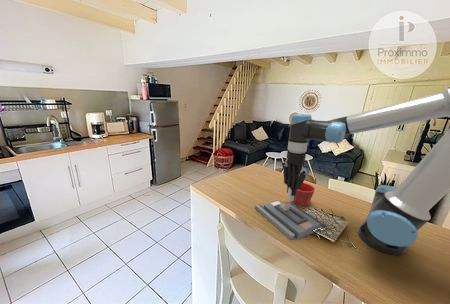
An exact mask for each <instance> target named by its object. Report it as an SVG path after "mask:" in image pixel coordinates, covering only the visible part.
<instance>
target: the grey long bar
mask: <svg viewBox="0 0 450 304" xmlns="http://www.w3.org/2000/svg"><path fill="white" fill-rule="evenodd" d="M254 208H255V210H256V211H257V212H259V213H260V214H261V215H262V216H263V217H264V218H265V219H266V220H268V221H269V222H270V224H272V225H274V226H275V228H277V229H278V230H279V231H280V232H281V233H282V234H283V235H285V236H286V237H287V238H288V239H289V240H294V239H297V238H296V236H297V235H296V234H295V233H294V232H293V231H291V230H290V229H289V228H288V227H286V226H285V225H284V224H283V223H282V222H280V221H279V220H278V219H277V218H275V217H274V216H273V215H272V214H271V213H269V212H268V211H267V210H266V209H264V206H262V205H261V204H255V205H254Z"/></svg>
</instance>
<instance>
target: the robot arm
mask: <svg viewBox="0 0 450 304" xmlns="http://www.w3.org/2000/svg"><path fill="white" fill-rule="evenodd" d="M440 118H450V86H448V87H445V88H444V89H443V90H442V91H441V92H439V93H433V94H430V95H426V96H422V97H418V98H415V99H411V100H406V101H402V102H398V103H394V104H390V105H386V106H382V107H378V108H377V107H376V108H373V109H369V110H366V111H362V112H358V113H355V114H351V115H350V114H349V115H347V116H342V117H338V118H333V119H331V120H330V119H329V120H317V119H316V120H315V119H312V114H309V113H308V114H307V113H294V114H292V115H291V119H290V124H289V133H288V136H289V137H288V143H287V144H288V145H287V152H286V159H287V160H286V161H285V162H282V163H281V166H282V170H283V171H282V172H283V183H284V185H286V186H287V188H286V195H287V197H286V199H287V201H288V202H291V203H292V202H294V195H296V190H297V189H301V186H302V184H303V183H305V179H306V176H307V175H308V174H309V173H310V171H309V170H307V169H306V168H305V161H306V159H307V158H306V157H307V156H306V155H307V153H306V152H307V149H308V143H309V140H315V141H320V142H321V141H322V142H326V143H330V144H331V143H332V144H333V143H334V144H340V143H342V142H343V141H344V139H345V136H350V135H352V134H353V135H354V134H359V133H364V132H365V133H366V132H370V131H374V130H380V129H386V128H390V127H392V128H393V127H397V126H402V125H407V124H412V123H413V124H414V123H418V122H419V123H420V122H424V121H430V120H435V119H440ZM374 191H375V193H374V196H373V200H372V203H371V205H370V208H369V211H368V215H367V216H366V218H365V220H364V221H363V222H362V223H361V224H360V225H359V227H358V231H357V233H358V236H359V237H360V239H361V240H362V241H363V242H364V243H365V244H367V245H368V246H370V247H371V248H373V249H374V250H377V251H378V252H381V253H385V254H388V255H391V256H402V255H405V253H406V252H407V250H408V247H409V246H411V245H413V244H414V243H415V242H416V240H417V238H418V236H419V232H418V231H419V230H420V229H422V228H423V226H425V225H426V224H427V223H428V222H429V221H430V220H431V218H432V217H431V213H430V212H429V211H430V210H431V209H432V208H433V207H434V206H435V205H436V204H437V203H438V202H439V201H441V199H442V198H443V197H444V196H446V194H448V193H449V192H450V127H449V128H448V130H447V131H446V132H445V133H444V134H443V135H442V137H440V139H438V141H437V142H436V143H435V144H434V145H433V147H432V148H431V149H430V150H429V151H428V152H427V154H425V156H424V157H423V158H422V159H421V161H419V163H418V164H417V165H416V166H415V167H414V168H413V169H412V170H411V172H410V173H409V174H408V175H407V176H406V177H405V178H404V180H403V181H402V182H401V183H400V184H399V186H398V187H396V186H392V185H386V184H380V185H378V186H377V187H376V189H375V190H374Z"/></svg>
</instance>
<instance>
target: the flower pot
mask: <svg viewBox="0 0 450 304" xmlns="http://www.w3.org/2000/svg"><path fill="white" fill-rule="evenodd" d="M314 192H315V187H314V186H313V185H311V184H309V183H306V182H303V184H302V186H301V189H297V190H296V195H294V201H293V204H294V205H296V206H300V207H307V206H309V204H310V202H311V200H312V198H313V195H314Z"/></svg>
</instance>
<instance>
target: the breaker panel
mask: <svg viewBox="0 0 450 304" xmlns="http://www.w3.org/2000/svg"><path fill="white" fill-rule="evenodd" d="M280 200H281V199H279V200H276V201H273V202H268V203H266V204H263V208H264V209H266V210H267V211H268V212H269V213H271V214H272V215H273V216H274V217H275V218H277V219H278V220H279V221H280V222H282V223H283V224H284V225H285V226H286V227H288V228H289V229H290V230H291V231H293V232H294V233H295V234H296V235H297V236H296V238H295V239H297V240H300V239H302V238H304V237H307V236H309V235H311V234H313V233H315V232H313V230H315V229H318V228H320V225H321V224H320V223H318V222H317V221H315V220H314V219H312V218H311V217H309V216H308V215H306V214H305V213H303V212H302V211H300V210H299V209H297V208H296V207H294V206H293V205H291V204H290V207H289V210H287V211H284V210H282V209H281V208H280V207H279V206H280Z"/></svg>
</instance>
